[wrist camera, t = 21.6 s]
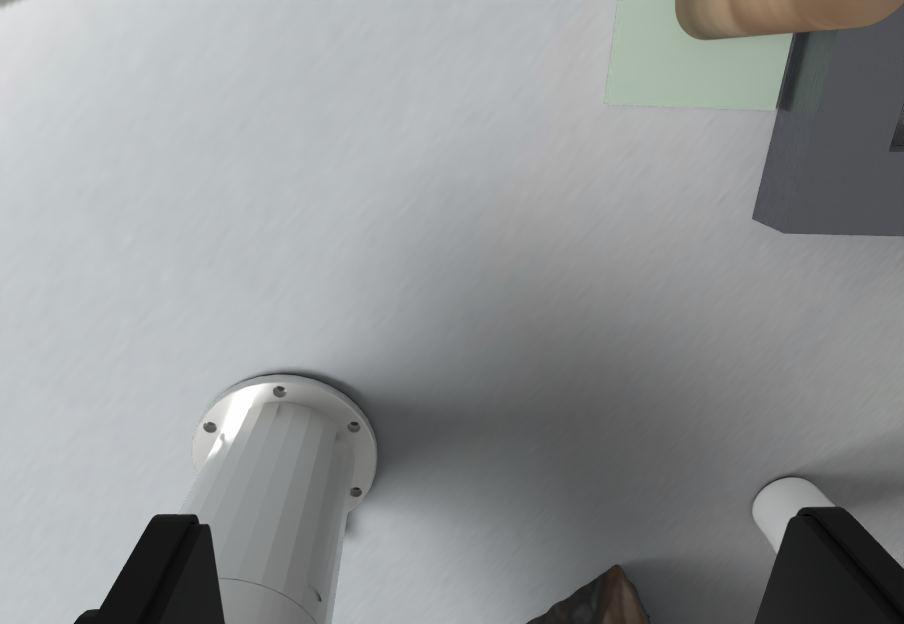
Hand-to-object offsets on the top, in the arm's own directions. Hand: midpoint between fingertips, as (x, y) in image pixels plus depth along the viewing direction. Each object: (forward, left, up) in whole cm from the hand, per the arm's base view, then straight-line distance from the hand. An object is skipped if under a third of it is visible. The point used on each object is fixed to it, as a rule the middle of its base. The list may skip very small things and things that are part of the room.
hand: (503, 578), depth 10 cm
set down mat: (+12, -14, -28) cm, 34 cm away
